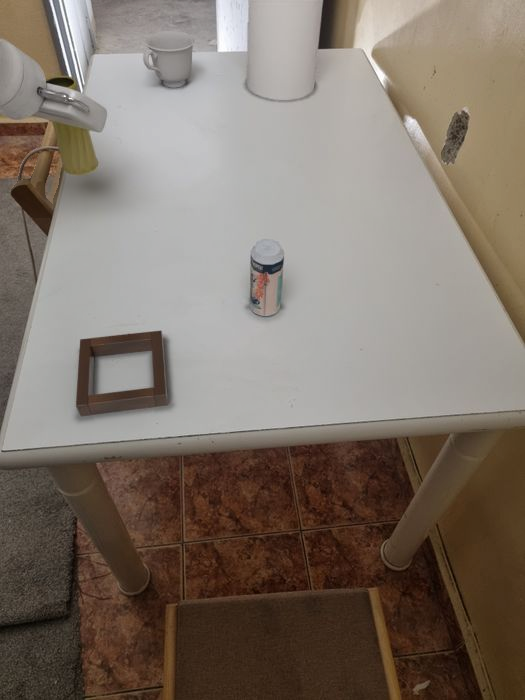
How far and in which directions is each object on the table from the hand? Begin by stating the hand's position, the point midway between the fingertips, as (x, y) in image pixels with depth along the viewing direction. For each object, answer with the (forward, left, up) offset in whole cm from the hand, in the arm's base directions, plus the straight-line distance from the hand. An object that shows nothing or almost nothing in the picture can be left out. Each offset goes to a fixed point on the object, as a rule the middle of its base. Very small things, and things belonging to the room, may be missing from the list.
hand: (71, 121), depth 86 cm
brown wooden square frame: (+6, -42, -16) cm, 46 cm away
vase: (0, -1, -8) cm, 8 cm away
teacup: (+18, +49, -16) cm, 55 cm away
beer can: (+28, -32, -16) cm, 45 cm away
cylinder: (+46, +46, -16) cm, 67 cm away
